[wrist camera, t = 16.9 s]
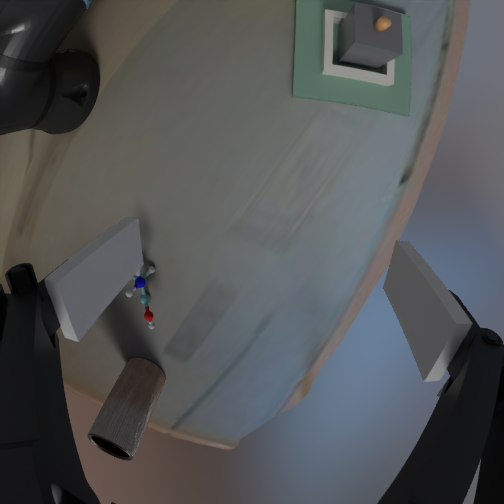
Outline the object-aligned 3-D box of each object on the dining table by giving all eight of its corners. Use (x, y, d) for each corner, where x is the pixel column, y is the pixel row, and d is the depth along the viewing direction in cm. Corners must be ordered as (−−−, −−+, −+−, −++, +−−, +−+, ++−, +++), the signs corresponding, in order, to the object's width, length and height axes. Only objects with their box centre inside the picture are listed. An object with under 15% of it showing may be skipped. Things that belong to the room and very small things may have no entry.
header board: (292, 97, 33) (293, 94, 30) (296, -3, 26) (297, -15, 23) (405, 116, 32) (416, 116, 28) (405, 18, 25) (416, 11, 22)
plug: (337, 62, 29) (359, 37, 18) (338, 29, 27) (358, -6, 16) (374, 69, 29) (410, 50, 18) (374, 37, 26) (408, 8, 16)
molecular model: (96, 287, 46) (92, 307, 38) (120, 243, 47) (120, 253, 38) (148, 315, 52) (155, 339, 43) (173, 274, 52) (184, 290, 44)
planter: (145, 386, 63) (112, 458, 43) (120, 359, 60) (78, 432, 39) (174, 382, 60) (142, 463, 40) (148, 353, 57) (105, 436, 37)
